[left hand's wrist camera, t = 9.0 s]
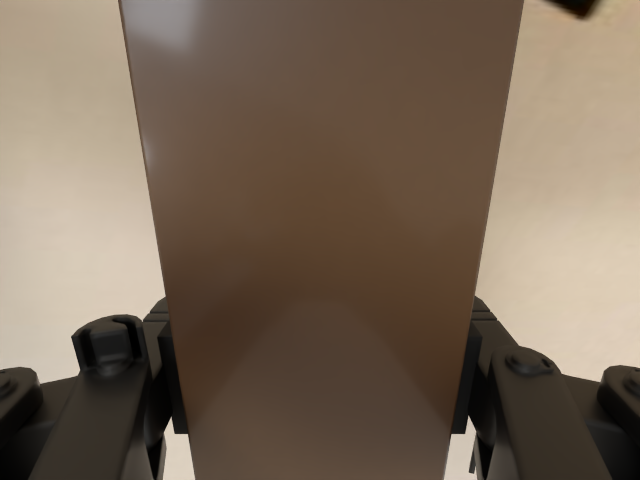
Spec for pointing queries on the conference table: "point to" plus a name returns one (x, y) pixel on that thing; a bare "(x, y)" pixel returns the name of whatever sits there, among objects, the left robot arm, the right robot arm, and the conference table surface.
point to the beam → (320, 220)
